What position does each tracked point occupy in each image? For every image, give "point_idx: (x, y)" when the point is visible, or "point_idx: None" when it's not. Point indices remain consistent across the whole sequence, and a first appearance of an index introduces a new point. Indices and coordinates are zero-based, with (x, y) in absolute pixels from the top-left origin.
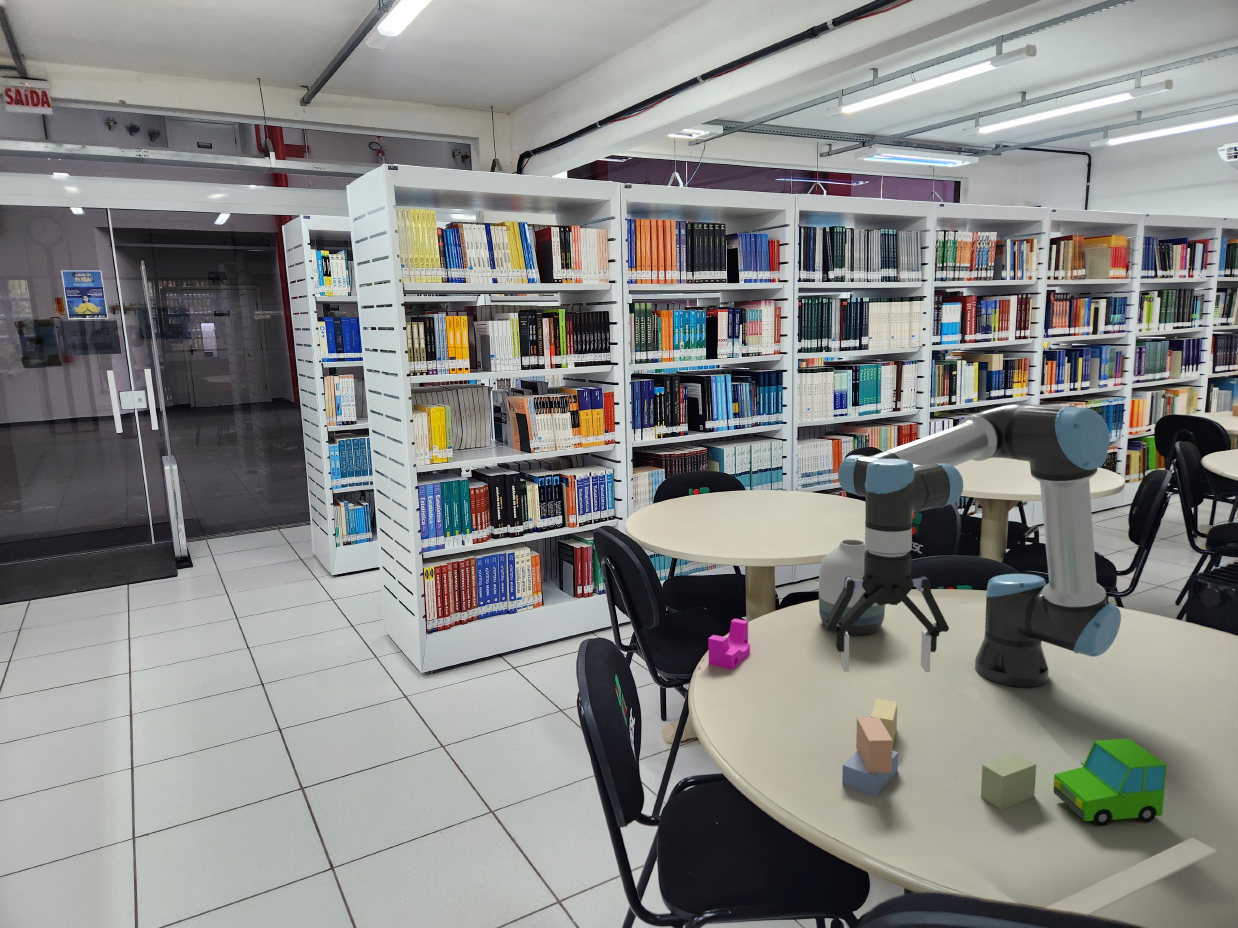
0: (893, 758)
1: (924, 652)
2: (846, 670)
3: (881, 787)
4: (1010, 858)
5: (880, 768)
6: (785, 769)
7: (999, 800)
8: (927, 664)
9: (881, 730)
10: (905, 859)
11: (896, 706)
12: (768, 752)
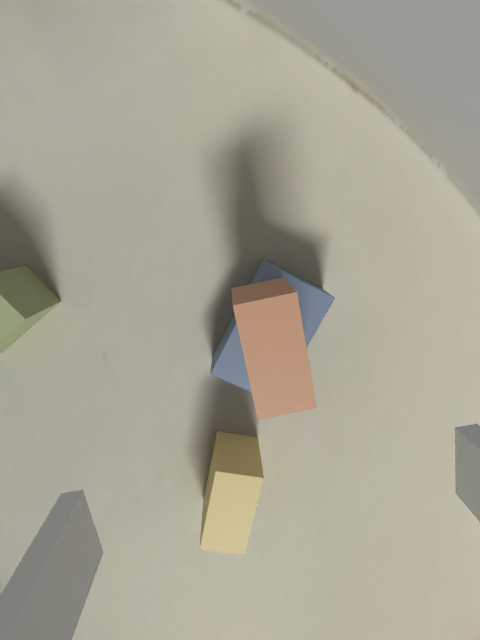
0: (222, 349)
1: (46, 601)
2: (469, 428)
3: None
4: (18, 94)
5: (256, 284)
6: (429, 317)
7: (20, 271)
8: (56, 523)
9: (258, 353)
10: (221, 43)
11: (202, 532)
12: (457, 370)
